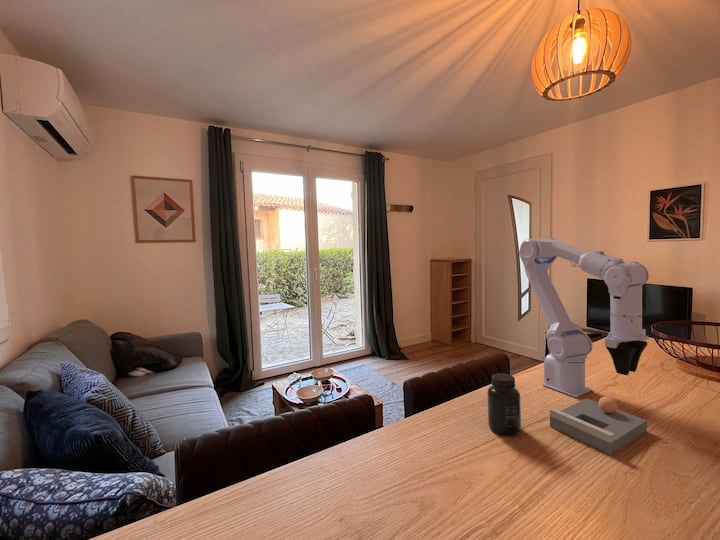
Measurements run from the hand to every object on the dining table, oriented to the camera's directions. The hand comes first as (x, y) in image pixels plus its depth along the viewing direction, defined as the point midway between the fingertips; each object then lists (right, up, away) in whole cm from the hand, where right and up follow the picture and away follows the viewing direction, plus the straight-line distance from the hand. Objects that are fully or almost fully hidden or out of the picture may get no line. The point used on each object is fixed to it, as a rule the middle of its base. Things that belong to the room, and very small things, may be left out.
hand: (626, 372), depth 76 cm
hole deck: (-10, -11, -4) cm, 15 cm away
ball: (-6, -7, -2) cm, 9 cm away
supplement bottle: (-29, -12, -2) cm, 32 cm away
